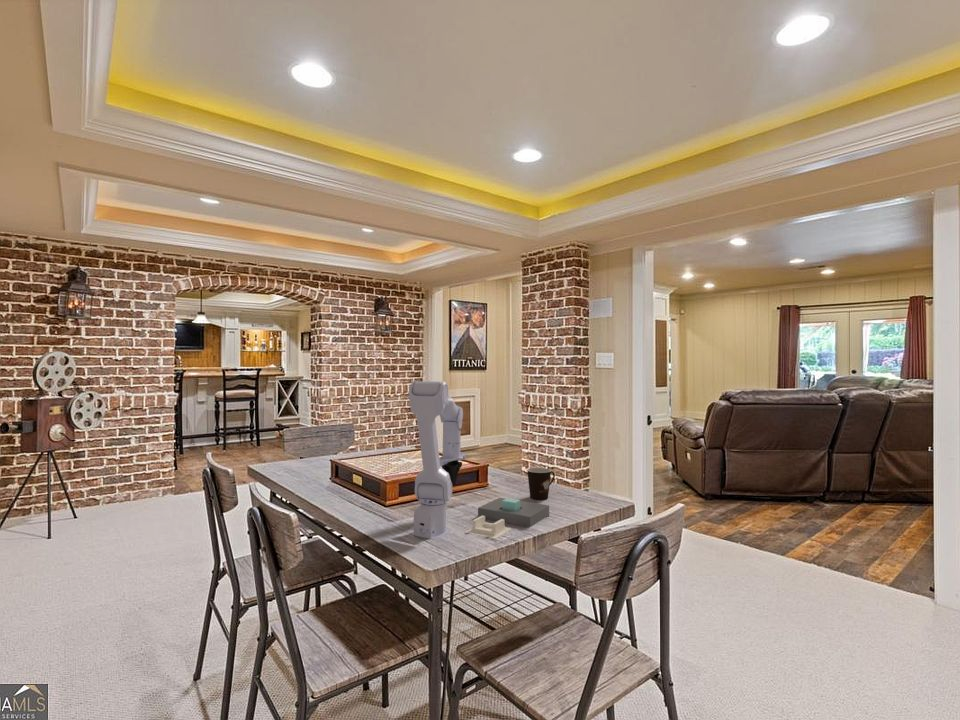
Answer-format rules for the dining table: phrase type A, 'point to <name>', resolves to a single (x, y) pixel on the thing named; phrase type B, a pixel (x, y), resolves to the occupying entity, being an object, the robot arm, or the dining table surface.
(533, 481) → the coffee mug
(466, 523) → the dining table surface
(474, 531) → the beige square holder
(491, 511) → the block
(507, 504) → the plug
